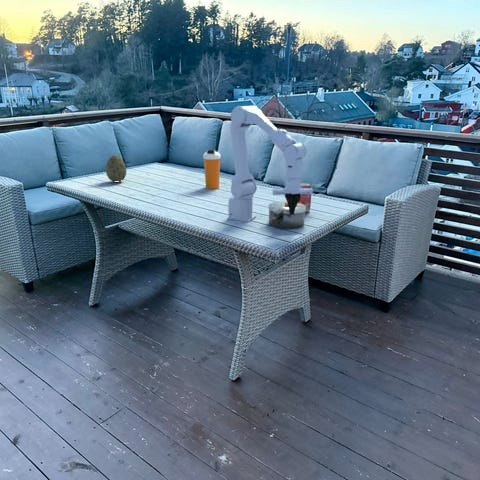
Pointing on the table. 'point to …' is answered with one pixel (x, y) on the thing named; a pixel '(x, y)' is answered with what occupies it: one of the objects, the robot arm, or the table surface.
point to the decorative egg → (115, 168)
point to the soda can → (305, 197)
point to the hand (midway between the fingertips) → (291, 213)
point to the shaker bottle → (212, 168)
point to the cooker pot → (287, 220)
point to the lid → (285, 208)
